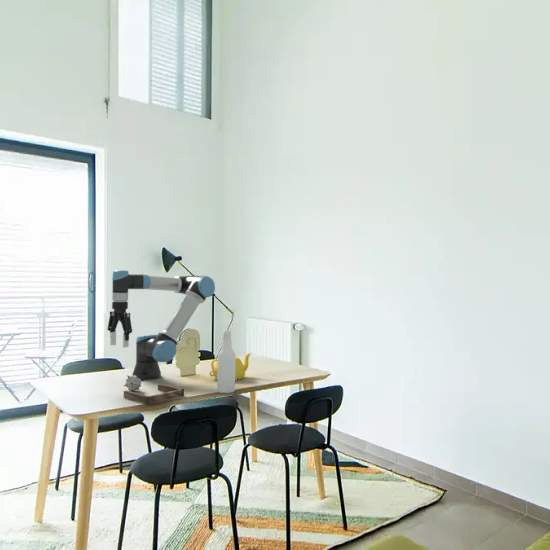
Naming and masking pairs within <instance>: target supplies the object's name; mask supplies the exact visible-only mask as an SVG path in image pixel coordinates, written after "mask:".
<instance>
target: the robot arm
mask: <svg viewBox="0 0 550 550" xmlns="http://www.w3.org/2000/svg"><path fill="white" fill-rule="evenodd" d="M111 280H112V295H111V296H112V298H111V299H112V303H111V309H112V310H113V311H112V310H111V311H109V318H108V323H107V324H108V325H107V331H109V333H110V334H109V335H110V337H109V338H110V342H109V343H110V344H109V345H110V346H116V345H117V330H116V329H117V326H118V324H119V322H120V324H121V327H122V329H123V334H122V348H129V345H130V344H129V340H130V334H131V333H133V328H132V327H133V326H132V322H131V312H127V310H128V308H129V302H128V301H129V290H149V291H152V290H153V291H166V292H174V293H175V294H181V295H182V294H183V295H186V296H185V297H184V298H183V300H182V302H181V304H180V305H179V306H178V308H177V309H176V311H175V312H174V314H173V316H172V317H171V319H170V320H169V321H168V323H167V325H166V327H165V328H164V329H163V331H160V332H158V333H157V334H148V335H138V336H137V338H136V342H135V346H136V347H135V348H136V349H135V350H136V351H135V353H136V354H135V355H136V356H135V366H134V369H133V372H132V376H134V375H135V374H136V376H139V378H140V379H141V380H143V381H144V380H156V379H159V378H161V377H162V371H161V369H160V366H159V363H167V362H170V361H172V360H173V359H174V357H175V356H176V355H177V351H178V350H177V346H178V344H179V342H178V338H180V336H181V334H182V332H183V331H184V329H185V327H186V326H187V325H188V323H189V321H190V320H191V318H192V316H193V315H194V313H195V312H196V310H197V308H198V307H199V305H200V304H203V303H204V302H205V301H206V299H207V298H210V297H212V296H213V295H214V293H215V290H216V285H215V281H214V280H213V278H211V277H210V276H208V275H185V276H184V275H183V276H178V275H177V276H176V275H175V277H167V276H158V275H157V276H156V275H148V274H144V273H143V274H142V273H141V274H136V273H135V274H133V273H132V274H131V273H129V270H118V269H116V270H113V272H112V277H111Z"/></svg>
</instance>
